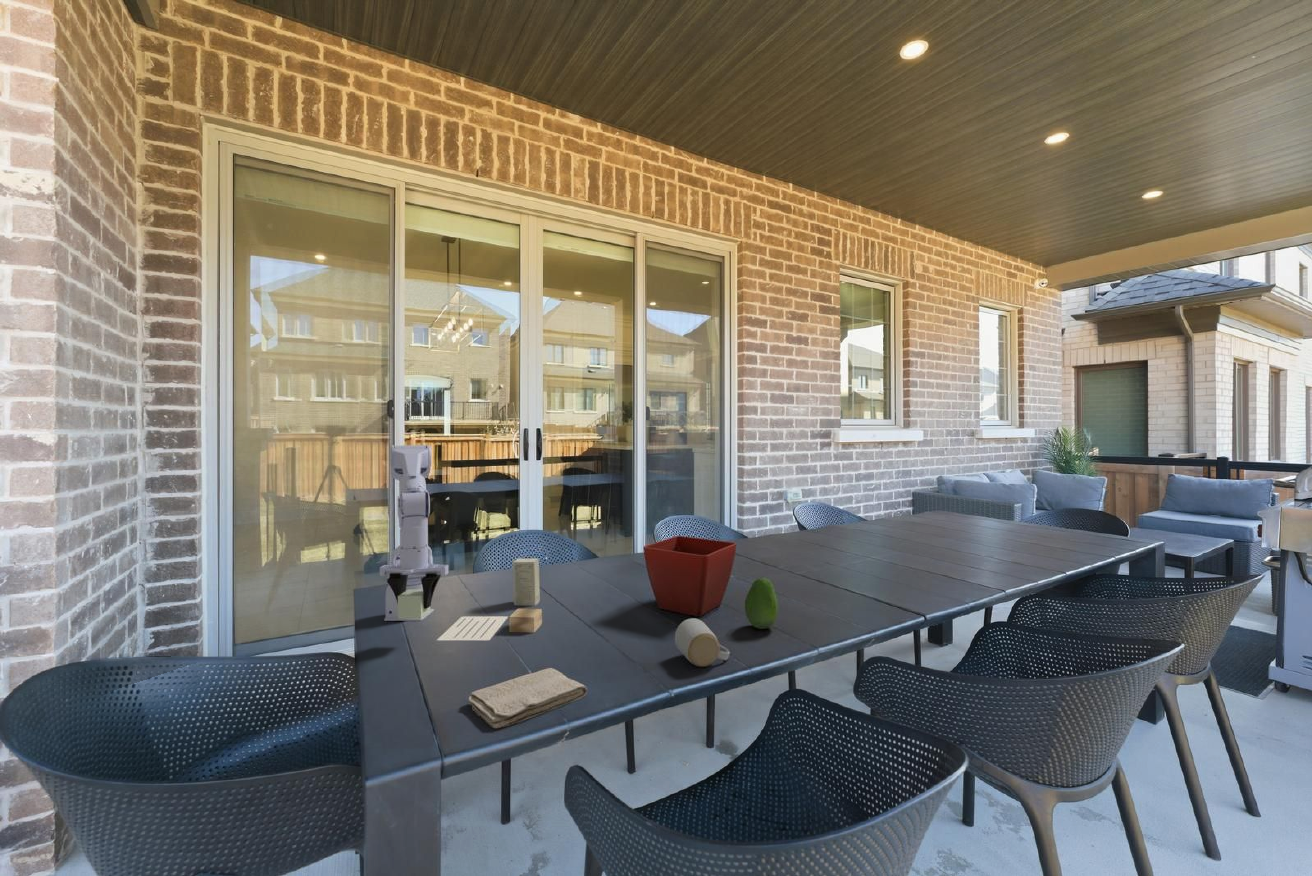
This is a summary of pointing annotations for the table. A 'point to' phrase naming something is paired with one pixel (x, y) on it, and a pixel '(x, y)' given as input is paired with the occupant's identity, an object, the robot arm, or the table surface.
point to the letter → (473, 628)
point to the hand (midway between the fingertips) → (414, 607)
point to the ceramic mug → (699, 643)
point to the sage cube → (411, 605)
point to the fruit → (761, 604)
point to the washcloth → (525, 697)
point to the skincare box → (526, 581)
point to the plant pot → (689, 573)
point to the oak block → (525, 620)
